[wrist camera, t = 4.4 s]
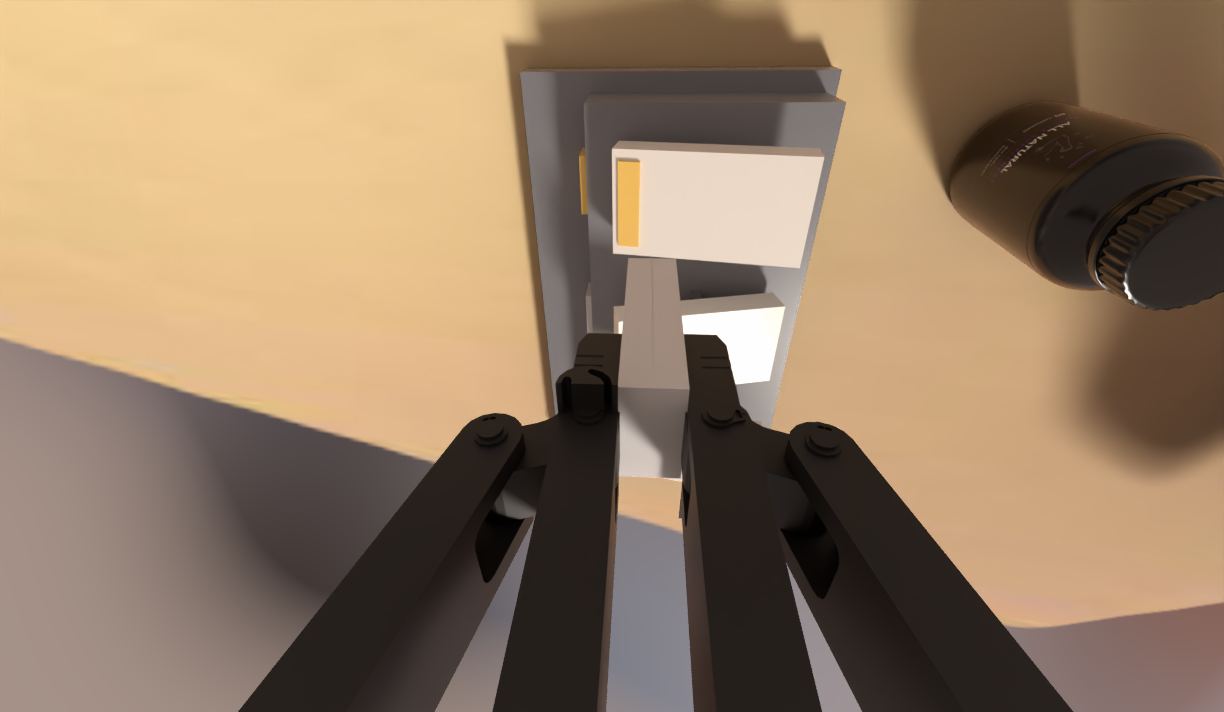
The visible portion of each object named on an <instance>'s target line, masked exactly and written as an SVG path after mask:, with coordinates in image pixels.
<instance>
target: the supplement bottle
mask: <svg viewBox="0 0 1224 712" xmlns="http://www.w3.org/2000/svg"><path fill="white" fill-rule="evenodd" d="M950 196H951V200H952V203H953V205H954V208H955V209H956V211H957V212H958V213H959V214H960V216H961V217H962V218H964V219H965V220H966V221H967V222H969V223H970V224H971V225H972V226H974V227H975V228H976V229H978V230H979V231H980V232H982V233H983V234H985V235H986V236H987V237H989V238H990V239H991V240H993V241H994V242H996V243H997V244H998V245H1000V246H1001V247H1002V248H1004V249H1005V250H1007V251H1008V252H1009V253H1011V254H1012V255H1013V256H1015V257H1016V258H1017V259H1019V260H1020V261H1022V262H1023V263H1024V264H1026V265H1027V266H1028V267H1030V268H1031V269H1033V270H1034V271H1035V272H1037V273H1038V274H1039V275H1041V276H1042V277H1044V278H1046V279H1047V280H1049V281H1050V282H1052V283H1054V284H1056V285H1059V286H1062V287H1065V288H1069V289H1075V290H1088V291H1094V290H1107V291H1109V292H1111V293H1113V294H1116V295H1118V296H1119V297H1121V298H1122V299H1124V300H1125V301H1127V302H1129V303H1130V304H1133V305H1137V306H1138V307H1140V308H1143V309H1148V308H1149V309H1152V310H1154V311H1155V310H1161V309H1163V310H1170V309H1174V308H1183V307H1185V306H1188V305H1194V304H1197V303H1199V302H1201V301H1203V300H1206V299H1210V298H1212V297H1213V296H1215V295H1216V294H1218V293H1221V292H1224V163H1223V161H1222V159H1221V158H1220V156H1219V155H1218V154H1217V153H1216V151H1214V150H1213V149H1212V148H1211V147H1210V146H1208V145H1207V144H1205V143H1203V142H1201V141H1198V140H1196V139H1193V138H1191V137H1188V136H1185V135H1181V134H1178V133H1174V132H1170V131H1166V130H1163V129H1159V128H1155V127H1152V126H1148V125H1144V124H1141V123H1137V122H1133V121H1129V120H1126V119H1122V118H1118V117H1115V116H1111V115H1107V114H1104V113H1100V112H1096V111H1092V110H1089V109H1085V108H1081V107H1077V106H1073V105H1069V104H1065V103H1060V102H1052V101H1043V102H1035V103H1030V104H1026V105H1022V106H1019V107H1016V108H1014V109H1012V110H1009V111H1007V112H1005V113H1003V114H1002V115H1000V116H998V117H997V118H995V119H993V120H992V121H991V122H989V123H988V124H986V125H985V126H984V127H983V128H982V129H981V130H979V131H978V132H977V133H976V134H975V135H974V136H973V137H972V139H971V140H970V141H969V142H968V143H967V145H966V146H965V147H964V149H963V150H962V152H961V153H960V155H959V157H958V159H957V161H956V163H955V165H954V168H953V171H952V175H951V180H950Z"/></svg>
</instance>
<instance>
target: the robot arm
mask: <svg viewBox="0 0 1224 712" xmlns="http://www.w3.org/2000/svg"><path fill="white" fill-rule="evenodd" d="M555 386H556V397H557V407H558V414H556V415H555V416H554V417H552V418H550V419H548V420H546V421H542V422H539V423H535V424H530V425H525V426H521V423H520V422H519V421H518V420H517V419H516V418H515V417H512V416H510V415H507V414H499V413H493V414H488V415H482V416H480V417H478V418H476V419H474V420H472V421H470V422H469V423H468V424H467V425H466V426H465V427H464V428H463V429H462V430H461V431H460V433H459V434H458V435H457V436H456V438H455V439H454V440H453V441H452V443H451V444H450V445H449V447H448V448H447V449H446V450H445V452H444V453H443V454H442V455H441V457H440V458H439V459H438V460H437V462H436V463H435V464H434V466H433V467H432V468H431V469H430V470H429V472H428V473H427V474H426V476H425V477H424V478H423V479H422V481H421V482H420V483H419V484H418V486H417V487H416V488H415V490H414V491H413V492H412V493H411V494H410V496H409V497H408V498H407V500H406V501H405V502H404V503H403V505H402V506H401V507H400V509H399V510H398V511H397V512H396V513H395V515H394V516H393V517H392V518H391V520H390V521H389V522H388V523H387V525H386V526H385V527H384V528H383V530H382V531H381V532H380V534H379V535H378V536H377V538H376V539H375V540H374V541H373V542H372V544H371V545H370V546H369V547H368V549H367V550H366V551H365V553H364V554H363V555H362V556H361V558H360V559H359V560H358V561H357V563H356V564H355V565H354V566H353V568H352V569H351V570H350V571H349V573H348V574H347V575H346V576H345V578H344V579H343V580H342V581H341V583H340V584H339V585H338V587H337V588H336V589H335V590H334V592H333V593H332V594H331V595H330V597H329V598H328V599H327V601H326V602H325V603H324V604H323V605H322V607H321V608H320V609H319V610H318V612H317V613H316V614H315V616H314V617H313V618H312V619H311V621H310V622H309V623H308V624H307V626H306V627H305V628H304V629H303V631H302V632H301V633H300V634H299V636H298V637H297V638H296V640H295V641H294V642H293V643H292V645H291V646H290V647H289V648H288V650H287V651H286V652H285V653H284V655H283V656H282V657H281V658H280V660H279V661H278V662H277V663H276V665H275V666H274V667H273V668H272V670H271V671H270V672H269V674H268V675H267V676H266V677H265V679H264V680H263V681H262V682H261V684H260V685H259V686H258V687H257V689H256V690H255V691H254V692H253V694H252V695H251V696H250V697H249V699H248V700H247V701H246V703H245V704H244V705H243V706H242V708H241V709H240V710H239V712H435V709H436V708H437V706H438V704H439V702H440V700H441V698H442V696H443V694H444V692H445V690H446V688H447V686H448V684H449V683H450V680H451V678H452V677H453V675H454V673H455V671H456V669H457V667H458V665H459V663H460V661H461V659H462V657H463V655H464V653H465V651H466V650H467V648H468V646H469V644H470V641H471V640H472V638H473V636H474V634H475V632H476V630H477V628H478V626H479V624H480V622H481V620H482V619H483V617H484V615H485V613H486V611H487V609H488V607H489V605H490V603H491V601H492V599H493V597H494V595H495V593H496V591H497V590H498V588H499V586H500V584H501V582H502V580H503V578H504V576H505V574H506V572H507V570H508V568H509V566H510V564H511V562H512V560H513V558H514V557H515V555H516V553H517V551H518V549H519V547H520V545H521V543H522V541H523V539H524V537H525V535H526V533H527V531H528V529H529V528H530V525H531V524H532V522H533V519H534V516H535V520H534V525H533V529H532V534H531V539H530V543H529V548H528V553H527V557H526V561H525V566H524V570H523V575H522V580H521V584H520V589H519V593H518V598H517V602H516V607H515V611H514V616H513V621H512V625H511V630H510V634H509V639H508V644H507V648H506V652H505V657H504V662H503V666H502V671H501V675H500V680H499V685H498V689H497V693H496V698H495V703H494V708H493V712H606V700H607V699H606V698H607V682H608V665H609V648H610V632H611V614H612V598H613V580H614V564H615V547H616V530H617V513H618V496H619V476H629V477H655V478H681V471H682V491H681V501H680V510H679V518H682V524H683V539H684V556H685V572H686V589H687V604H688V621H689V637H690V653H691V671H692V687H693V704H694V712H822V710H821V706H820V701H819V697H818V693H817V689H816V685H815V681H814V677H813V673H812V668H811V665H810V660H809V656H808V652H807V648H806V644H805V639H804V635H803V631H802V627H801V623H800V619H799V615H798V611H797V607H796V602H795V598H794V594H793V590H792V586H791V582H790V578H789V573H788V569H787V565H788V567H789V569H790V571H791V573H792V575H793V577H794V579H795V580H796V583H797V584H798V586H799V588H800V590H801V592H802V594H803V596H804V598H805V600H806V602H807V604H808V606H809V608H810V610H811V612H812V613H813V616H814V618H815V620H816V622H817V623H818V626H819V628H820V630H821V632H822V633H823V636H824V637H825V639H826V641H827V643H828V645H829V647H830V649H831V651H832V653H833V655H834V657H835V659H836V661H837V663H838V665H839V667H840V669H841V671H842V673H843V675H844V677H845V679H846V681H847V682H848V684H849V687H850V688H851V690H852V692H853V694H854V696H855V698H856V700H857V702H858V704H859V706H860V708H861V710H862V712H1073V711H1072V710H1071V708H1070V707H1069V706H1068V705H1067V703H1066V702H1065V701H1064V700H1063V698H1062V697H1061V696H1060V695H1059V694H1058V692H1057V691H1056V690H1055V689H1054V687H1053V686H1052V685H1051V684H1050V683H1049V681H1048V680H1047V679H1046V678H1045V676H1044V675H1043V674H1042V673H1041V671H1040V670H1039V669H1038V668H1037V666H1036V665H1035V664H1034V663H1033V661H1032V660H1031V659H1030V658H1029V656H1028V655H1027V654H1026V653H1025V652H1024V650H1023V649H1022V648H1021V647H1020V646H1019V644H1018V643H1017V642H1016V640H1015V639H1014V638H1013V637H1012V636H1011V634H1010V633H1009V632H1008V631H1007V629H1006V628H1005V627H1004V626H1003V624H1002V623H1001V622H1000V621H999V619H998V618H997V617H996V616H995V614H994V613H993V612H992V611H991V610H990V608H989V607H988V606H987V605H986V603H985V602H984V601H983V600H982V598H981V597H980V596H979V595H978V593H977V592H976V591H975V590H974V589H973V587H972V586H971V585H970V584H969V582H968V581H967V580H966V579H965V577H964V576H963V575H962V574H961V572H960V571H959V570H958V569H957V567H956V566H955V565H954V564H953V563H952V561H951V560H950V559H949V558H948V556H947V555H946V554H945V553H944V551H943V550H942V549H941V548H940V546H939V545H938V544H937V543H936V542H935V540H934V539H933V538H932V537H931V535H930V534H929V533H928V532H927V530H926V529H925V528H924V527H923V525H922V524H921V523H920V522H919V521H918V519H917V518H916V517H915V516H914V514H913V513H912V512H911V511H910V509H909V508H908V507H907V506H906V504H905V503H904V502H903V501H902V500H901V498H900V497H899V496H898V495H897V493H896V492H895V491H894V490H893V488H892V487H891V486H890V485H889V483H888V482H887V481H886V480H885V479H884V477H883V476H882V475H881V474H880V472H879V471H878V470H877V469H876V467H875V466H874V465H873V464H872V462H871V461H870V460H869V459H868V458H867V456H866V455H865V454H864V453H863V451H862V450H861V449H860V448H859V446H858V445H857V444H856V443H855V441H854V440H853V439H852V438H851V437H850V436H848V435H847V434H846V433H845V432H844V431H842V430H840V429H838V428H836V427H834V426H832V425H829V424H825V423H821V422H805V423H802V424H799V425H797V426H795V427H794V428H793V429H792V430H791V431H790V434H787V433H783V432H779V431H775V430H772V429H769V428H766V427H763V426H761V425H759V424H757V423H755V422H754V421H752V420H751V418H750V416H749V414H748V412H747V410H745V409H744V408H743V407H742V406H740V402H739V397H738V393H737V389H736V384H735V380H734V376H733V371H732V367H731V362H730V360H729V354H728V349H727V345H726V344H725V343H724V342H723V341H722V340H721V339H720V338H719V337H718V336H717V335H710V334H684V331H683V322H682V312H681V303H680V293H679V284H678V274H677V265H676V259H657V258H628V268H627V280H626V292H625V304H624V316H623V329H622V334H610V333H588V334H587V335H586V336H585V337H584V338H583V339H582V340H581V341H580V342H579V343H578V348H577V352H576V357H575V362H574V367H573V368H572V369H569V370H567V371H565V372H564V373H563V374H561V375H560V376H559V377H558V379H557V381H556V383H555ZM786 563H787V565H786Z"/></svg>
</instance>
